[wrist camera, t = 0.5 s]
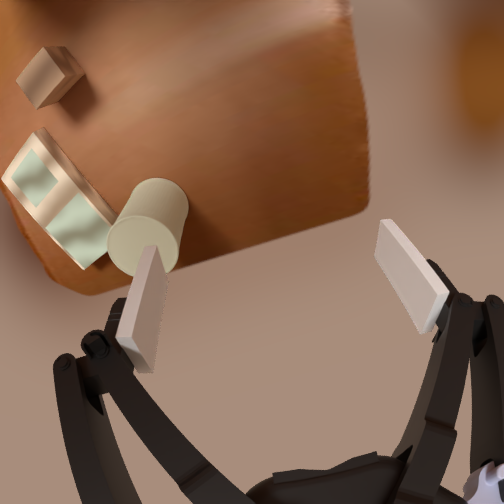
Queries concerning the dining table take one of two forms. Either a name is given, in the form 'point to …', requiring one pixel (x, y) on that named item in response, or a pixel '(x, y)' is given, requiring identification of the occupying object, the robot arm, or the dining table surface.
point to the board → (60, 198)
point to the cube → (49, 76)
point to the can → (149, 225)
